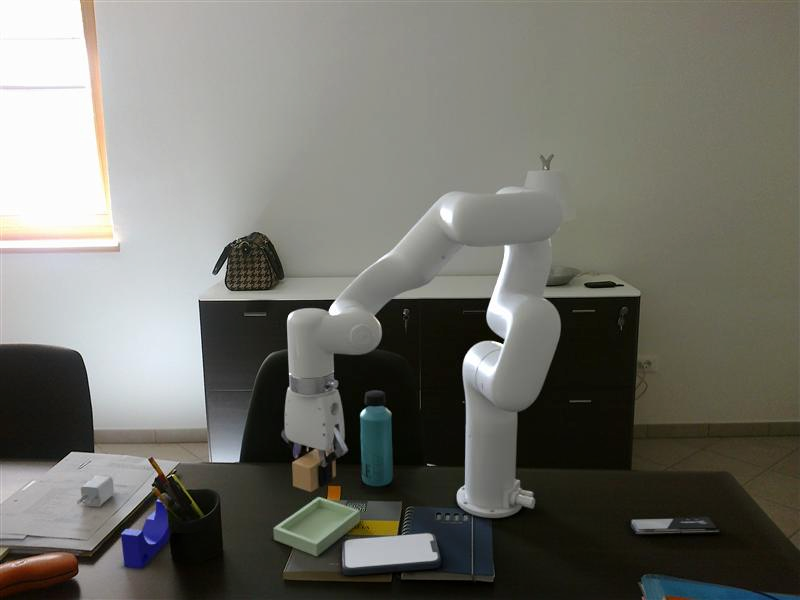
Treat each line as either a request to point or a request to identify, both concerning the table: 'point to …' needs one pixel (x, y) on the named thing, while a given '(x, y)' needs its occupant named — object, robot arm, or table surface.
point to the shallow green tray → (317, 526)
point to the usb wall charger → (97, 491)
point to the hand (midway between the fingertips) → (314, 479)
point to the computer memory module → (674, 526)
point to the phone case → (390, 554)
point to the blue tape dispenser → (146, 538)
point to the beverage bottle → (376, 440)
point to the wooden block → (308, 471)
